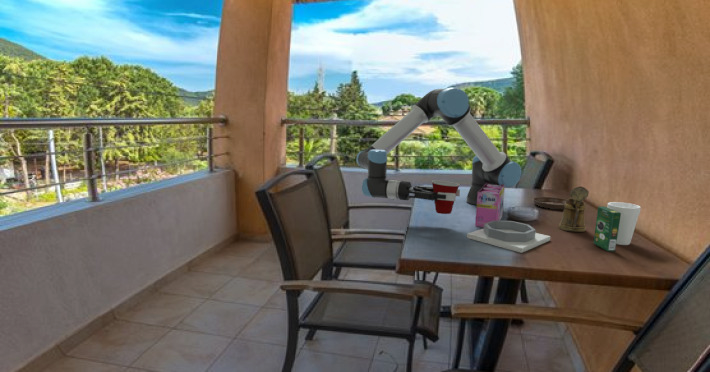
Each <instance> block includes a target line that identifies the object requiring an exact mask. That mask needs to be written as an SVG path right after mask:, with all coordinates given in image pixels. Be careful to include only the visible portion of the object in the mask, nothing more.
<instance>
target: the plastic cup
mask: <svg viewBox="0 0 710 372" xmlns="http://www.w3.org/2000/svg"><path fill="white" fill-rule="evenodd" d="M431 184H432V186H433V192H436V193H437V194H438V192H440V193H456V192H457V190H458V189H459V188H460V186H461V184H460V183H458V182H453V181H448V180H440V179H433V180H431ZM433 202H434V207H435V208H434V209H435V212H436V213H437V214H440V215H441V214H442V215H450V214H452V212H453V208H454V205H455V204H454V203H455V201H449V200H438V198H437V201H436V202H435V201H434V200H433Z"/></svg>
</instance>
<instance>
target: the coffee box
mask: <svg viewBox="0 0 710 372" xmlns="http://www.w3.org/2000/svg"><path fill="white" fill-rule="evenodd" d="M620 217H621V213H620V212H617V211H615V210H612V209H610V208H607V206H598V207H597V213H596V222H595V229H594V237H593V245H595V246H596V247H599V248H601V249H602V250H604V251H606V252H611V253H612V252H616V248H617V247H616V246H617V244H616V242H617V236H618V229H619V223H620Z"/></svg>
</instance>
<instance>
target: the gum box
mask: <svg viewBox="0 0 710 372" xmlns="http://www.w3.org/2000/svg"><path fill="white" fill-rule="evenodd" d="M504 196H505V187H504V184H501V186H498V185H490V183H486V184H485V185H484V186H483V187H482V188H481V189H480V190H479V191H478V194H477V205H476V210H475V223H474V226H476V227H480V228H481V227H482V228H484V223H487V222H491V221H501V219H503V215H504V214H503V213H504V198H505V197H504Z"/></svg>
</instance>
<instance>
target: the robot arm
mask: <svg viewBox="0 0 710 372" xmlns="http://www.w3.org/2000/svg"><path fill="white" fill-rule="evenodd" d="M471 110H472V109H471V107H470V105H469V97H468V95H467V93H466V92H465V91H464V90H463V89H461V88H457V87H450V86H449V87H445V88H436V89H433V90H430V91H429V92H427V93H426V94H425V95H423V97H422V98H420V99H419V100H418V101H417V102H416V103H414V104H413V106H412V109H411V110H410V111H409V112H408V113H407V114H406V115H404V117H402V118H401V119H400V120H399V121H397V123H395V124H394V125H393V126H392V127H391V128H389V130H387V131H386V132H385V133H383V134H382V135H381V136H380V137H379V138H378V139H377V140H376V141H375V142H373V143H372V144H371V145H370V146H368V148H366V150H362V151H359V152H358V153H357V155H356V159H355V160H356V164H357V165H358V167H361V169H365V170H366V171H367V178H364V179H362V182H361V192H362V194H363V195H364V196H365V197H370V198H381V199H388V200H389V199H390V200H391V201H394V200H400V201H409V200H410V199H420V200H425V201H426V200H427V201H433V202H434V201H435V202H436V201H437V198H438V200H449V201H454V202H456V197H460V195H461V189H459V188H458V190H457V192H456V193H440V192H438V194H437V193H436V192H433V185H432V186H429V185H414V186H412V183H411V181H409V180H408V181H407V180H401V181H400V180H395V179H394V180H393V179H387V172H388V169H387V168H388V167H387V166H388V165H387V164H388V154H390V153H391V151H393V150H394V149H395V148H396V147H397V146H399V144H401V143H402V142H403V141H404V140H406V138H408V137H409V136H410V135H411V134H412V133H414V132H415V130H417V129H418V128H419V127H420V126H421V125H423V124H424V123H425V124H427V123H428V122H429V121H430V120H432V119H434V118H437V117H441V119H442V120H443V121H444V123H445V124H446V125H447V126H448V127H453V128H454V130H456V132H457V133H458V134H459V135H460V137H461V138H462V139H463V140H464V142H465V143H466V144H467V146H468V147H469V148H470V149H471V150H472V152H473V153H474V156H473V157H472V161H471V162H472V163H471V166H472V168H471V180H470V181H471V182H470V183H471V184H470V188H469V190H468V192H467V195H466V203H468V204H470V205H471V204H472V205H474V206H477V194H478V191H479V190H480V189H481V188H482V187H483V186H484V185H485V184H486V183H490V185H498V186H501V184H504V188H509V189H510V188H512V187H513V188H514V187H515V186H516V185H517V184H518V183H519V181H520V180H521V177H522V168H521V165H520V164H519V163H518V162H515V161H512V160H511V159H510V158H509V157H508V155H507V154H506V153H505V152H503V151H500V150H498V148H497V146H496V145H495V144H494V143H493V142H492V140H491V139H490V138H489V137H488V135H487V133H486V132H485V131H484V130H483V128H481V126H480V124H479V123H478V122H477V121H476V119H475V118H474V117H473V116H472V114H471ZM435 202H434V203H435Z"/></svg>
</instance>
